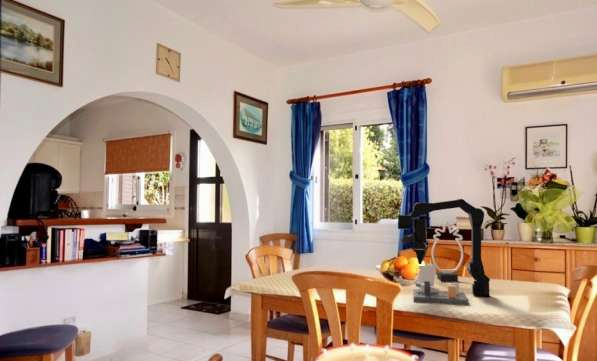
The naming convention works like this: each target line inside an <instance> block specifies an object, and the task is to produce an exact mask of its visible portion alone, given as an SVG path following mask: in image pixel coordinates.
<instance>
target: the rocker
mask: <svg viewBox="0 0 597 361" xmlns="http://www.w3.org/2000/svg"><path fill="white" fill-rule="evenodd" d="M415 287H417V288H419V287H420V288H424V289H425V285H424V284H423V283H420V282H418V281H415ZM430 290H431V291H435V292H439V291H440V287H437V286H435V285H434V286H430Z"/></svg>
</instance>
